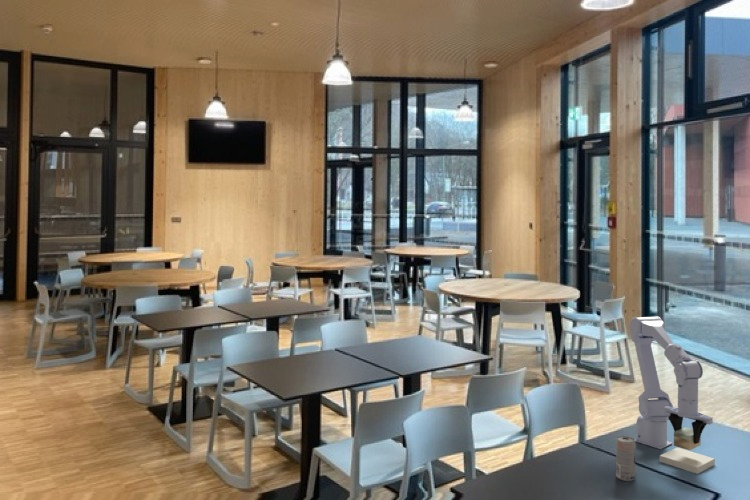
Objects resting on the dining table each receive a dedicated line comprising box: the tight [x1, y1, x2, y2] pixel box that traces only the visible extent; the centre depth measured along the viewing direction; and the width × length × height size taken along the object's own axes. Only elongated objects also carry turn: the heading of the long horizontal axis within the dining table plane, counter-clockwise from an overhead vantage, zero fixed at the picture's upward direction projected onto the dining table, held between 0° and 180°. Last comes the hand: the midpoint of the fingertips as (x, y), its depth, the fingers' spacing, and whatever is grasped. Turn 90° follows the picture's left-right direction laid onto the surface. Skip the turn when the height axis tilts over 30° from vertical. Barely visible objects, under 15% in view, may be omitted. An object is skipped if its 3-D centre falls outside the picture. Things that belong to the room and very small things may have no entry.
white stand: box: [659, 447, 716, 475], centre depth 195 cm, size 12×11×2 cm
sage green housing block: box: [673, 426, 702, 451], centre depth 195 cm, size 5×7×4 cm
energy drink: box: [615, 435, 636, 482], centre depth 185 cm, size 5×5×12 cm
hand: (687, 440), depth 195 cm, fingers closed on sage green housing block, 5 cm apart
